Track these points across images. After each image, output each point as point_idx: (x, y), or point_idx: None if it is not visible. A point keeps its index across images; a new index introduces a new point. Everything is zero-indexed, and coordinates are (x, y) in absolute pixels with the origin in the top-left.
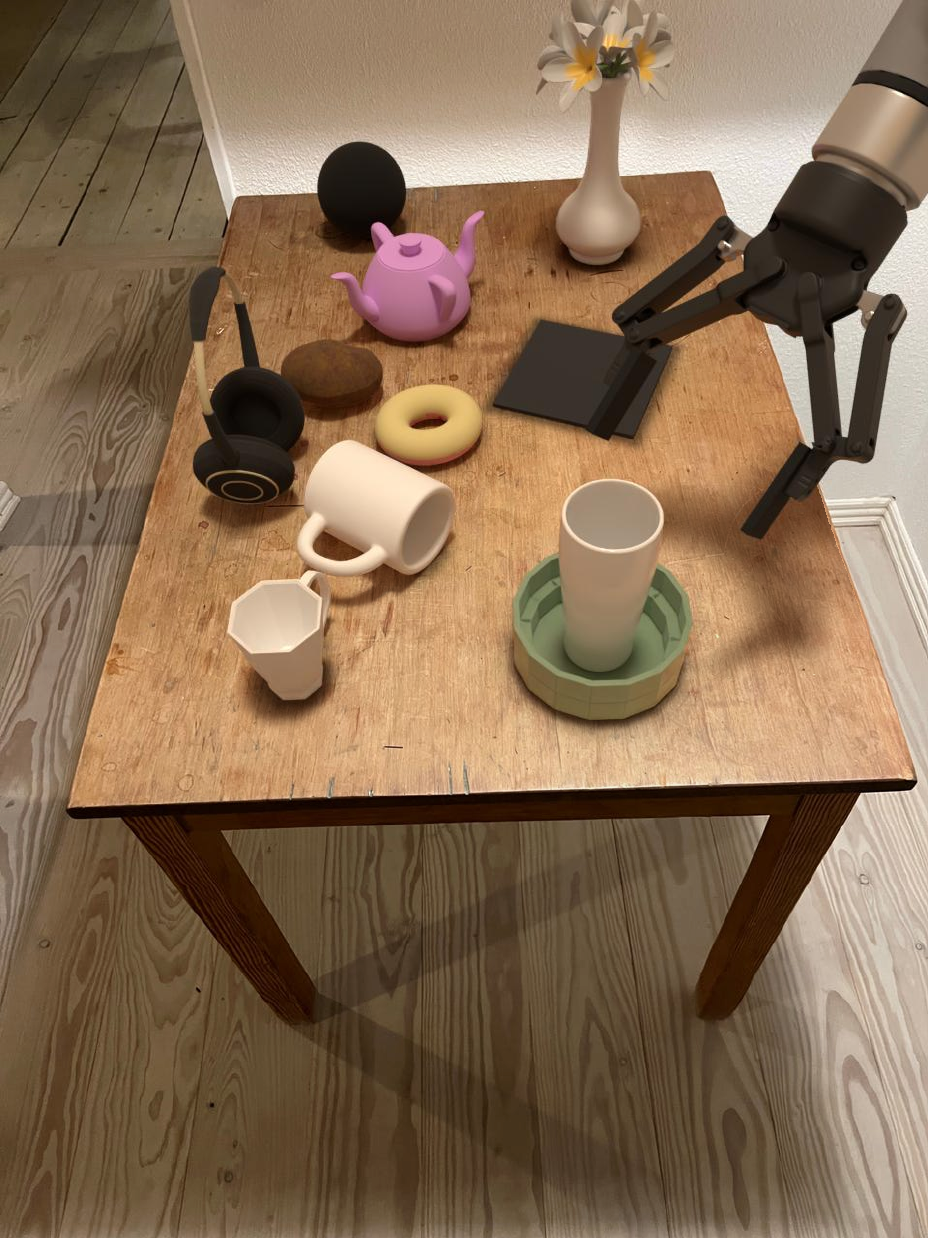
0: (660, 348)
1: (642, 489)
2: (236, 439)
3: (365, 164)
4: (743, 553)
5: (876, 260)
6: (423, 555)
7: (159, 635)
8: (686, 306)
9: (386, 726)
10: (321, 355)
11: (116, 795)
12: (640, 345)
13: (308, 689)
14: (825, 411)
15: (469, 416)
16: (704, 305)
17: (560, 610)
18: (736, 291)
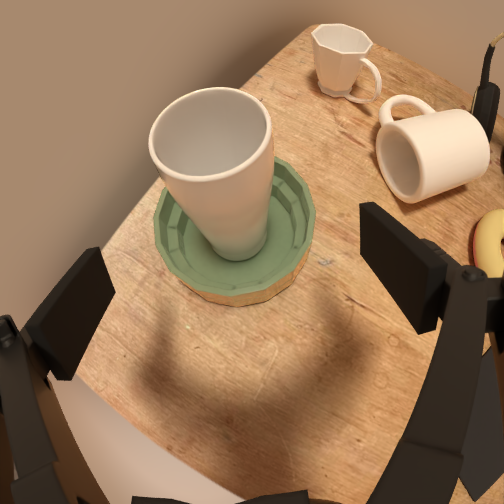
0: (479, 491)
1: (214, 174)
2: (494, 90)
3: None
4: (243, 414)
5: None
6: (391, 177)
7: (393, 61)
8: (465, 365)
9: (274, 104)
10: None
11: (310, 27)
12: (448, 287)
13: (321, 84)
14: (7, 373)
15: (501, 276)
16: (434, 400)
17: (287, 233)
18: (382, 490)
